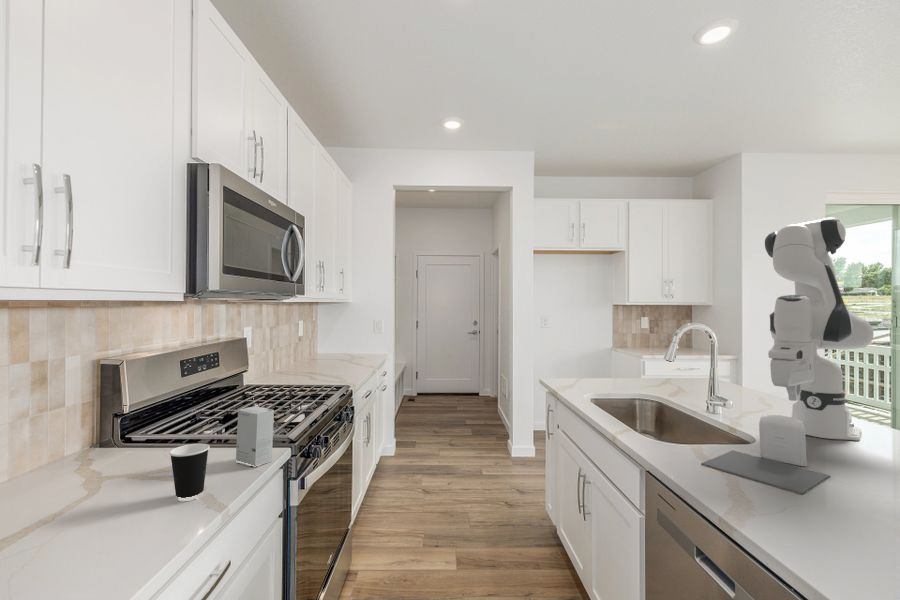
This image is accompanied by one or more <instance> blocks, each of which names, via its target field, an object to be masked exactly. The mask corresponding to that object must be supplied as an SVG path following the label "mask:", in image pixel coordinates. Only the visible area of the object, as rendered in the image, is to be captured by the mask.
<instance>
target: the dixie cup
mask: <svg viewBox="0 0 900 600" xmlns="http://www.w3.org/2000/svg"><path fill="white" fill-rule="evenodd" d="M210 447H211V446H210V444H207V443H190V444H185V445H181V446H177V447H175V448H172V449H171V450H170V451H169V453H168V454H169V456H170V461H171V469H172V475H173V476H172V477H173V484H174V490H175V491H174V492H175V496H177V497H181V498H186V497H192V496H195V495H198V494H200V493H202V494H203V492H204V490H205V489H204V488H205V480H206V473H207V464H208V454H209V449H210ZM177 497H176V498H177Z"/></svg>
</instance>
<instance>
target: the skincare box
mask: <svg viewBox="0 0 900 600" xmlns="http://www.w3.org/2000/svg"><path fill="white" fill-rule="evenodd" d="M274 414H275V410H274V409H272V408H266V407H262V406H261V407H260V406H255V405H253V406H250V407H249V406H248V407H245V408H240V409H237V428H236V430H237V431H236V449H235V450H236V451H235V461H236V460H237V461H241V462H244V463H248V464H251V465H254V466H256V465H259V464H262V463H265V462H269V461H273V441H274Z"/></svg>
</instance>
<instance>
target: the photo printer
mask: <svg viewBox="0 0 900 600" xmlns="http://www.w3.org/2000/svg"><path fill="white" fill-rule="evenodd" d="M758 424H759V425H758V427H759V428H758V430H759V431H758V433H759V454H760V455H759V457H761V458H765V459H769V460H773V461H777V462H781V463H785V464H788V465H793V466H797V467H806V466H807V441H806V439H807V438H806V437H807V435H806V434H805V427H804V423H803V422H801V421H799V420H797V419H794V418H792V416H791V417H789V416H787V415H779V414H765V415H762V416H760V419H759V422H758Z"/></svg>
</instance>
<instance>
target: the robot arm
mask: <svg viewBox="0 0 900 600" xmlns="http://www.w3.org/2000/svg"><path fill="white" fill-rule="evenodd" d="M846 236H847V235H846V227H845V226H844V225H843V223H842V222H841V221H840V219H837V218H836V217H826V218H825V217H823V218H821V219H817V220H812V221H806V222H802V223H797V224H795V223H794V224H789V225H786V226H784V227H782V228H781V229H779V230H775V231H773V232H771V233H769V234H768V235H767V236H766V237H765V239H764V249H765V251H766V254H768V256H769V257H770V258H771V259H772V265H773V269H774V271H775V272H776V273H777V274H778V275H779V276H780V277H781V278H783V279H786V280H788V281H790V282H791V281H792V282H794V293H795V294H793V295H792V294H788V295H782V296H779V297H777V298H776V299H775V305H774V311H773V312H771V313H770V314H769V321H770V322H769V327H770V328H769V331H770V334H771V338H772V339H773V345H772V347H771V349H769V350H768V353H767V354H768V358H769V359H771V360H770V364H769V365H770V366H769V367H770V377H771V382H772V385H773V386H775V387H782V388H785V389H786V392H787V394H788V400H789V401H793V403H792V407H791V418H794V419H797V420H799V421H801V422H803V423H804V427H805V435H806V436H810V437H815V438H821V439H828V440H829V439H830V440H846V441H847V440H849V441H860V439H861V435H862V434H861V433H862V428H860V427H859V426H858V427H857V426H855V424H854V423H853V416H852V412H851V411H850V409H849V408H848V407H847V405H846V403H847V402H846V391H844V390H843V388H844V387H843V382H844V381H843V371H842V368H841V367H840V366H839V365H838V364H837V363H835V362H833V361H831V360H828V359H827V358H824V357H822V356H820V355H819V354H818V351H817V350H820V349H822V350H839V351H840V350H845V351H846V350H857V349H865V348H866V347H868V346H869V345H870V344H871V342H872V340H873V338H874V328H873V327H872V325H871V324H870V323H869V321H867V319H865V318H863V317H861V316H858V315H857V314H855V313H854V312H852V311H851V310H849V309H848V308H847V306H846V305H845V302H844V299H843V296H842V293H841V290H840V287H839V283H838V281H837V278H836V271H835V267H834V264H833V261H832V259H831V257H830V255H829V253H830V254H831V255H835V253H837V250H838V249H840V248H841V246H843V244H844V242H845V239H846Z"/></svg>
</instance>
